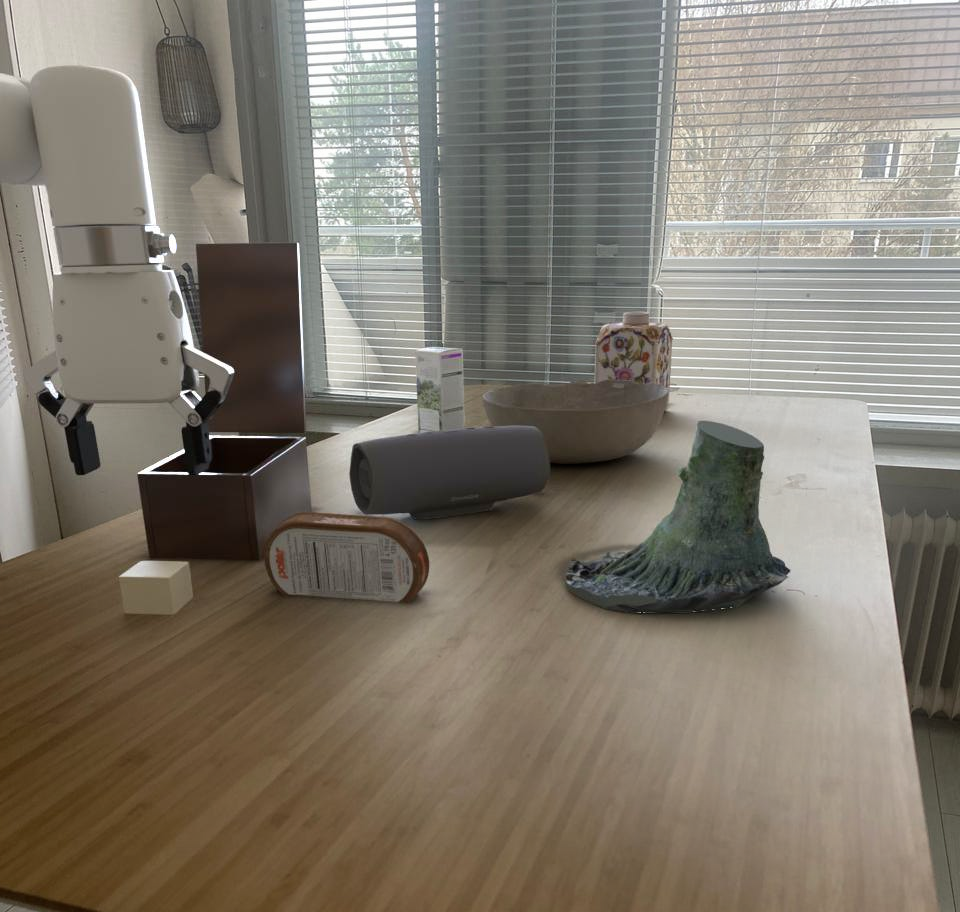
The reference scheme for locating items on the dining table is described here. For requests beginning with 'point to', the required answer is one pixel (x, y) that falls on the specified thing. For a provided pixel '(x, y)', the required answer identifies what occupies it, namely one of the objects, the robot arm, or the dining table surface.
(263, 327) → the lid
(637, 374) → the decorative jar
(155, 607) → the block
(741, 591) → the tree stump
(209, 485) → the chest
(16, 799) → the dining table surface
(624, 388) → the bowl
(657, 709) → the dining table surface
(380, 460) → the bluetooth speaker
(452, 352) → the syrup box
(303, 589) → the tin
